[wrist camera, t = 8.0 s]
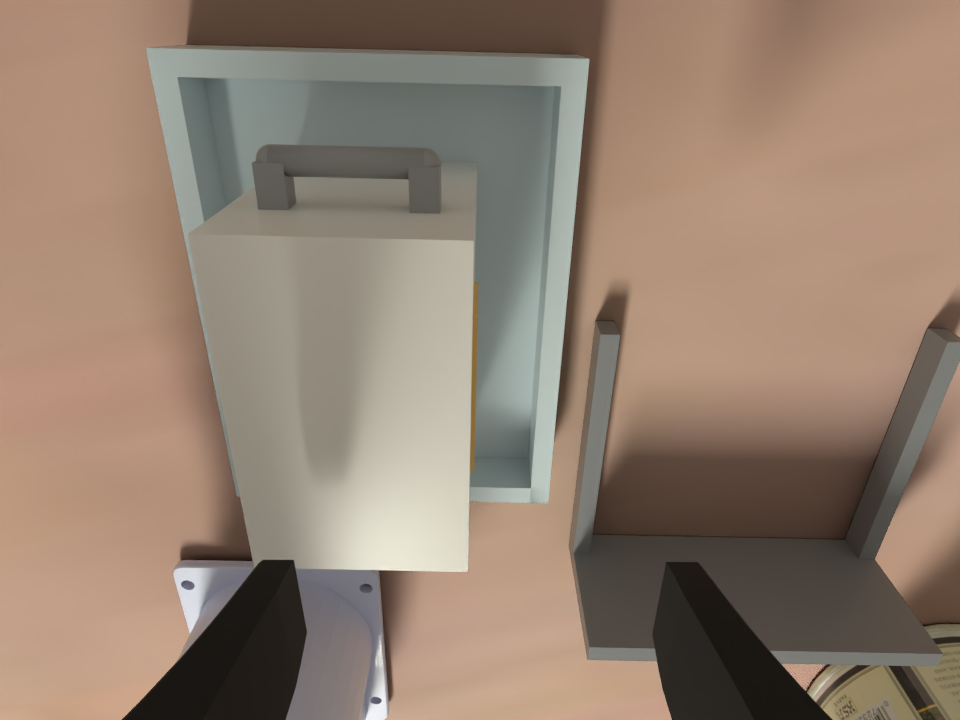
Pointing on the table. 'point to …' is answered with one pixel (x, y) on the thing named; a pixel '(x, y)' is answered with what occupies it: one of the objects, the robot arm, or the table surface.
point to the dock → (763, 548)
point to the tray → (455, 138)
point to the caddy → (348, 353)
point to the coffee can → (895, 686)
